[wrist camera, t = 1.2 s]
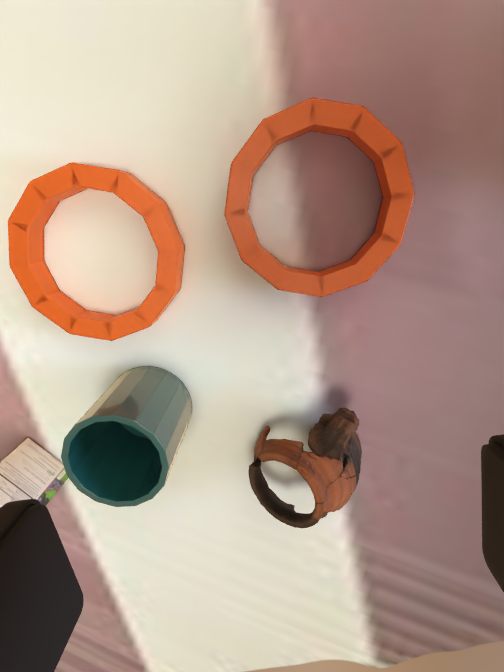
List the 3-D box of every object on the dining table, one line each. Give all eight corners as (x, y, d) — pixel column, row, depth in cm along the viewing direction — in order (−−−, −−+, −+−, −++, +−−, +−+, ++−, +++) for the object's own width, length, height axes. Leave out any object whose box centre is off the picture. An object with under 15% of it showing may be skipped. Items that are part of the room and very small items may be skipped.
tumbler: (140, 349, 35) (97, 394, 27) (208, 400, 36) (189, 458, 28) (95, 408, 37) (42, 467, 29) (161, 453, 39) (129, 523, 30)
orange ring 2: (307, 65, 28) (310, 53, 26) (438, 191, 30) (451, 190, 28) (196, 217, 31) (191, 218, 29) (320, 320, 34) (323, 327, 31)
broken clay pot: (346, 495, 40) (311, 557, 33) (271, 438, 43) (226, 485, 36) (405, 414, 33) (375, 473, 27) (311, 355, 36) (265, 394, 30)
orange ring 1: (77, 129, 30) (62, 123, 28) (215, 243, 32) (211, 245, 30) (-3, 265, 33) (-21, 269, 31) (126, 359, 36) (117, 368, 33)
